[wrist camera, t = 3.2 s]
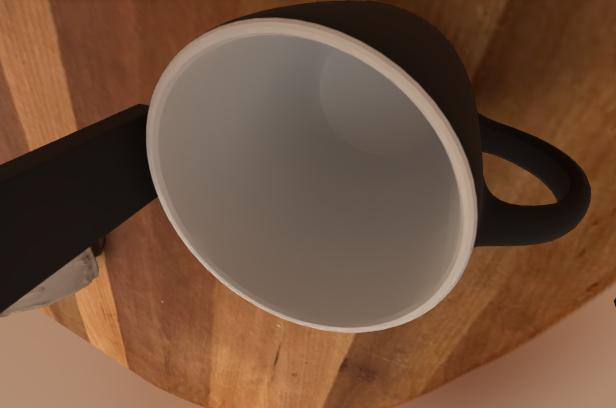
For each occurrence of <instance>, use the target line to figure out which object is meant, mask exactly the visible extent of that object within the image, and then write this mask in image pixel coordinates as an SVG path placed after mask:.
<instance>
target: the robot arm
mask: <svg viewBox="0 0 616 408" xmlns="http://www.w3.org/2000/svg"><path fill="white" fill-rule="evenodd" d="M148 111H149V106H148V105H143V104H137V105H135V106H133V107H130V108H128V109H126V110H124V111H121V112H119V113H117V114H115V115H112V116H110V117H108V118H106V119H103V120H101V121H99V122H96V123H94V124H92V125H90V126H87V127H85V128H83V129H81V130H78V131H76V132H74V133H72V134H69V135H67V136H65V137H63V138H60V139H58V140H56V141H54V142H51V143H49V144H47V145H45V146H42V147H40V148H38V149H35V150H33V151H31V152H29V153H26V154H24V155H22V156H20V157H17V158H15V159H13V160H11V161H8V162H6V163H4V164H2V165H0V314H1V313H2V312H3V311H5V310H6V309H7V308H9V307H10V306H11V305H13V304H14V303H15V302H17V301H18V300H19V299H21V298H22V297H23V296H25V295H26V294H27V293H29V292H30V291H31V290H33V289H34V288H36V287H37V286H38V285H40V284H41V283H42V282H44V281H45V280H46V279H48V278H49V277H50V276H52V275H53V274H54V273H56V272H57V271H58V270H60V269H61V268H62V267H64V266H65V265H66V264H68V263H69V262H70V261H72V260H73V259H74V258H76V257H77V256H79V255H80V254H81V253H83V252H84V251H85V250H87V249H88V248H89V247H91V246H92V245H93V244H95V243H96V242H97V241H99V240H100V239H101V238H103V237H104V236H105V235H107V234H108V233H109V232H111V231H112V230H113V229H115V228H116V227H118V226H119V225H120V224H122V223H123V222H124V221H126V220H127V219H128V218H130V217H131V216H132V215H134V214H135V213H136V212H138V211H139V210H140V209H142V208H143V207H144V206H146V205H147V204H148V203H150V202H151V201H152V200H154V199H155V198H157V197H158V195H157V192H156V189H155V186H154V183H153V180H152V176H151V172H150V168H149V163H148V157H147V146H146V126H147V117H148ZM614 303H615V306H616V298H615V300H614Z"/></svg>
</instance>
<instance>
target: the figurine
mask: <svg viewBox="0 0 616 408" xmlns="http://www.w3.org/2000/svg"><path fill="white" fill-rule="evenodd" d="M104 239H105V238H104V237H103V238H101V239H100V240H99V241H97V242H96V243H95V244H93V245H92V246H91V247H89V248H88V249H87V250H85V251H84V252H83V253H81V254H80V255H79V256H77V257H76V258H74V259H73V260H72V261H70V262H69V263H68V264H66V265H65V266H64V267H62V268H61V269H60V270H58V271H57V272H56V273H54V274H53V275H52V276H50V277H49V278H48V279H46V280H45V281H44V282H42V283H41V284H40V285H38V286H37V287H36V288H34V289H33V290H31V291H30V292H29V293H27V294H26V295H25V296H23V297H22V298H21V299H19V300H18V301H17V302H15V303H14V304H13V305H11V306H10V307H9V308H7V309H6V310H5V311H3V312H2V313H1V314H0V317H5V316H8V315H10V314H12V313H17V312H22V311H27V310H33V309H37V308H41V307H45V306H48V305H50V304H52V303H55V302H57V301H59V300H61V299H63V298H65V297H67V296H69V295H72V294H74V293H76V292H78V291H79V290H81V289H82V288H85V287H86V286H87V285H89V284H90V283H91V282H92V280H93V279H94V278H96V277H98V274H99V268H98V264H97V261H96V259H95V257H98V256H99V255H101V253H102V250H103V247H104Z"/></svg>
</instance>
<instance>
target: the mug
mask: <svg viewBox="0 0 616 408" xmlns="http://www.w3.org/2000/svg"><path fill="white" fill-rule="evenodd" d="M146 146H147V157H148V163H149V168H150V172H151V176H152V180H153V183H154V186H155V189H156V192H157V195H158V197H159V200H160V202H161V204H162V207H163V209H164V211H165V213H166V215H167V217H168V218H169V220H170V222H171V224H172V225H173V227H174V229H175V230H176V232H177V233H178V235H179V236H180V238H181V239H182V240H183V242H184V243H185V244H186V246H187V247H188V248H189V250H190V251H191V252H192V253H193V254H194V255H195V257H196V258H197V259H198V260H199V261H200V262H201V263H202V264H203V265H204V266H205V267H206V268H207V269H208V270H209V271H210V272H211V273H212V274H213V275H214V276H215V277H216V278H217V279H219V280H220V281H221V282H222V283H223V284H225V285H226V286H227V287H228V288H230V289H231V290H233V291H234V292H235V293H237V294H238V295H240V296H241V297H243V298H244V299H246V300H247V301H249V302H250V303H252V304H254V305H256V306H257V307H259V308H261V309H263V310H265V311H267V312H269V313H271V314H273V315H276V316H278V317H280V318H282V319H285V320H288V321H291V322H293V323H297V324H300V325H303V326H307V327H311V328H315V329H320V330H326V331H334V332H353V333H358V332H371V331H377V330H383V329H387V328H391V327H395V326H398V325H401V324H403V323H406V322H409V321H411V320H413V319H415V318H417V317H419V316H421V315H423V314H424V313H426V312H427V311H429V310H431V309H432V308H433V307H435V306H436V305H437V304H438V303H439V302H441V301H442V300H443V299H444V298H445V297H446V296H447V295H448V294H449V293H450V291H451V290H452V289H453V288H454V286H455V285H456V284H457V282H458V281H459V279H460V278H461V276H462V274H463V272H464V271H465V269H466V267H467V265H468V262H469V260H470V257H471V254H472V251H473V249H474V247H478V246H524V245H533V244H541V243H545V242H550V241H553V240H555V239H558V238H560V237H562V236H564V235H565V234H567V233H568V232H570V231H571V230H572V229H574V228H575V227H576V226H577V225H578V223H579V222H580V221H581V220H582V218H583V217H584V216H585V214H586V212H587V209H588V207H589V204H590V199H591V187H590V184H589V182H588V179H587V176H586V174H585V173H584V171H583V170H582V168H581V167H580V166H579V165H578V164H577V163H576V162H575V161H574V160H573V159H571V158H570V157H569V156H568V155H567V154H565V153H564V152H562V151H561V150H559V149H558V148H556V147H554V146H553V145H551V144H549V143H547V142H545V141H543V140H541V139H539V138H537V137H535V136H533V135H531V134H528V133H526V132H523V131H521V130H518V129H515V128H513V127H510V126H507V125H504V124H501V123H498V122H496V121H493V120H491V119H489V118H487V117H484V116H483V115H481V114H479V113H478V112H477V108H476V103H475V98H474V95H473V91H472V87H471V84H470V81H469V78H468V75H467V73H466V70H465V68H464V65H463V63H462V62H461V60H460V58H459V56H458V54H457V52H456V51H455V49H454V48H453V47H452V45H451V44H450V42H449V41H448V40H447V39H446V38H445V37H444V35H443V34H442V33H441V32H440V31H438V30H437V29H436V28H435V27H434V26H433V25H431V24H430V23H429V22H427V21H426V20H424V19H423V18H421V17H419V16H418V15H416V14H414V13H411V12H409V11H407V10H405V9H402V8H398V7H395V6H392V5H387V4H382V3H377V2H368V1H324V2H312V3H304V4H298V5H292V6H286V7H280V8H274V9H269V10H265V11H260V12H257V13H253V14H250V15H247V16H243V17H240V18H237V19H234V20H231V21H228V22H226V23H223V24H221V25H219V26H217V27H215V28H212V29H210V30H208V31H207V32H205V33H204V34H202V35H200V36H199V37H197V38H196V39H194V40H193V41H191V42H190V43H189V44H188V45H187V46H185V47H184V48H183V49H182V50H181V51H180V52H179V53H178V54H177V55H176V56H175V57H174V58H173V59H172V60H171V62H170V63H169V64H168V66H167V67H166V69H165V70H164V72H163V73H162V75H161V77H160V79H159V81H158V83H157V85H156V87H155V90H154V93H153V95H152V98H151V102H150V106H149V111H148V117H147V126H146ZM482 152H486V153H489V154H493V155H496V156H498V157H501V158H503V159H506V160H508V161H510V162H512V163H514V164H516V165H518V166H520V167H522V168H523V169H525V170H527V171H528V172H530V173H531V174H533V175H534V176H536V177H537V178H538V179H540V180H541V181H542V182H543V183H544V184H545V185H546V186H547V187H548V188H549V189H550V190H551V191H552V193H553V194H554V195H555V197H556V199H557V203H554V204H548V205H538V206H522V205H515V204H509V203H507V202H504V201H501V200H499V199H498V198H496V197H495V196H493V195H492V193H491V192H490V191H489V190H488V188H487V186H486V183H485V180H484V176H483V161H482Z"/></svg>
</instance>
